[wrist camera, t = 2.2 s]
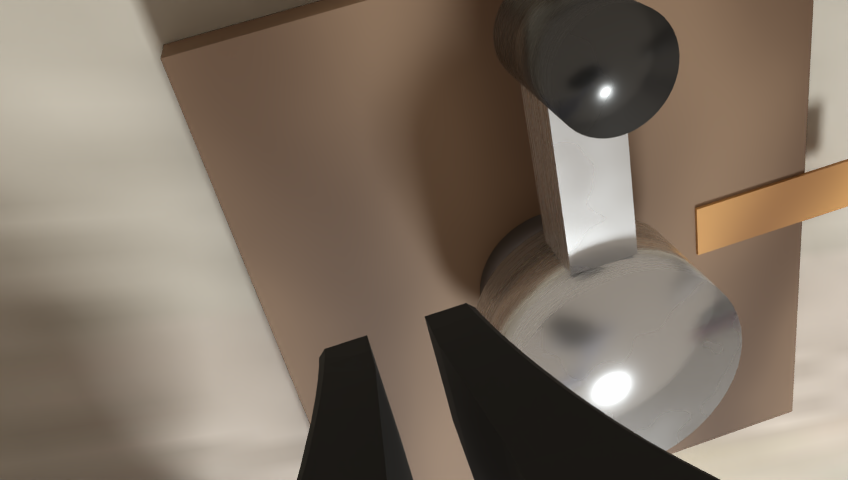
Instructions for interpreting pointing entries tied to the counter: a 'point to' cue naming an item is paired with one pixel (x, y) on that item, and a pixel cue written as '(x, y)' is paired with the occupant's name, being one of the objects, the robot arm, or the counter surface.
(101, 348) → the counter surface
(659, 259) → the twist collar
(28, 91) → the counter surface
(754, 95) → the lock base
